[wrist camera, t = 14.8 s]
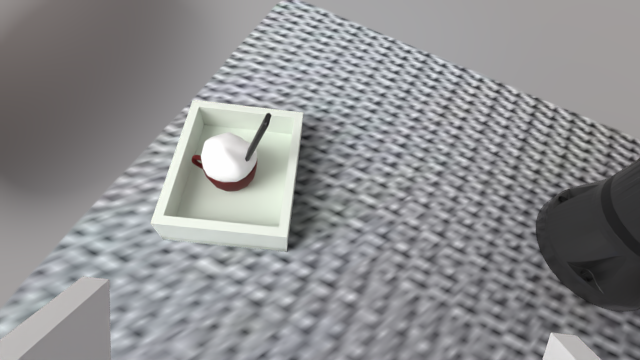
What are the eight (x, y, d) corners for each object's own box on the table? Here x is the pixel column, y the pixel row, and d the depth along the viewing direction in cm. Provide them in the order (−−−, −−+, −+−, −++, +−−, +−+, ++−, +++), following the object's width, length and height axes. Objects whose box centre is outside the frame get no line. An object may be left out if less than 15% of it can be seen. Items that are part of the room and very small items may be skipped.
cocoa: (191, 180, 44) (155, 116, 34) (222, 144, 47) (198, 74, 37) (255, 215, 42) (238, 159, 32) (284, 175, 45) (277, 111, 35)
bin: (301, 134, 50) (303, 112, 46) (286, 251, 41) (287, 237, 38) (199, 122, 50) (192, 99, 46) (163, 239, 41) (150, 223, 37)
